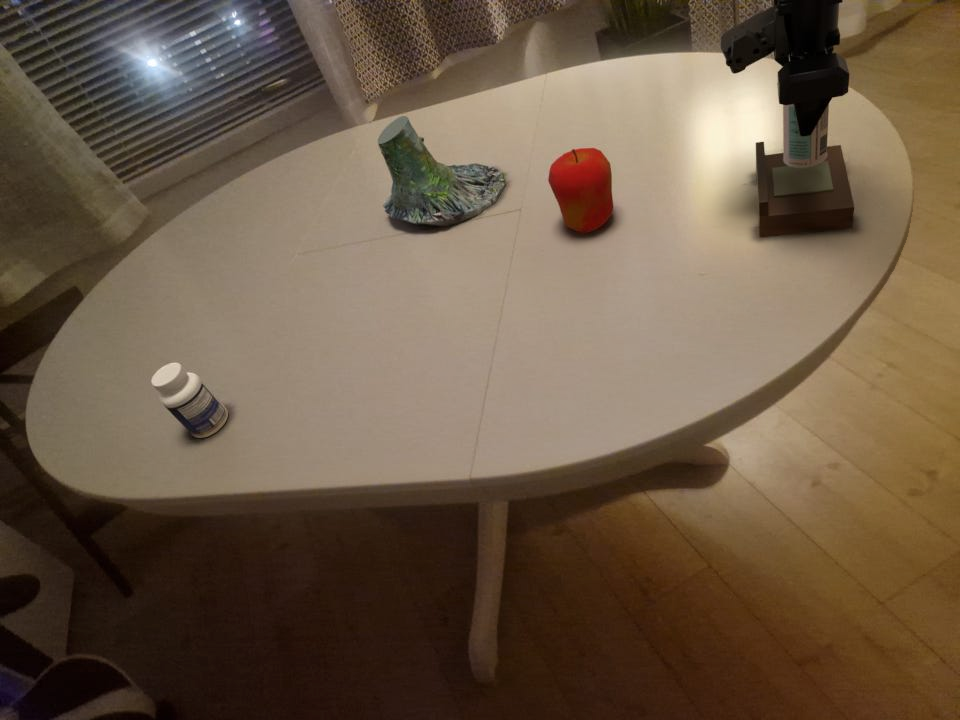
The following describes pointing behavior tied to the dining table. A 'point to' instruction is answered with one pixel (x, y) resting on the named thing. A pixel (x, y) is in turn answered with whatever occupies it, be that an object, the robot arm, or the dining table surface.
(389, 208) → the tree stump
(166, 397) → the pill bottle
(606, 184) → the apple
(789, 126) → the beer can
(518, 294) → the dining table surface
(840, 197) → the brown rectangular block
